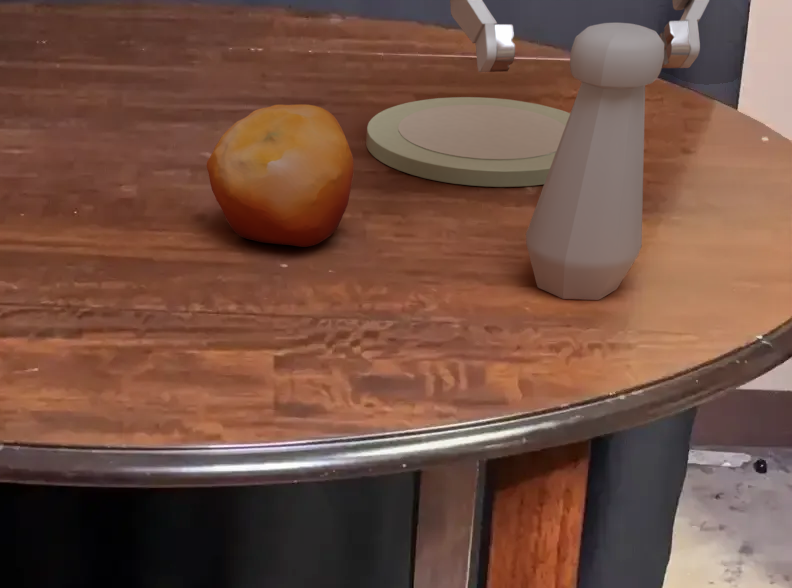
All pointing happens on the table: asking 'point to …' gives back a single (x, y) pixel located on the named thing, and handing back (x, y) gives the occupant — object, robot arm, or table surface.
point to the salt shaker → (597, 167)
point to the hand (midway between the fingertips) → (588, 64)
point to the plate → (469, 140)
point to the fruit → (283, 175)
